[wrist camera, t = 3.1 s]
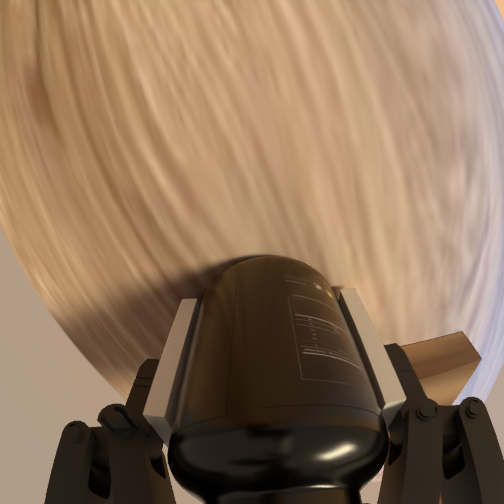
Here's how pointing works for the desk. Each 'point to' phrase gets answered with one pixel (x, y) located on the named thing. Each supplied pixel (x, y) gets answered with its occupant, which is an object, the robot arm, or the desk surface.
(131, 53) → the desk surface
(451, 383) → the pedestal
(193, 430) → the supplement bottle
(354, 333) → the robot arm
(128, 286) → the desk surface
